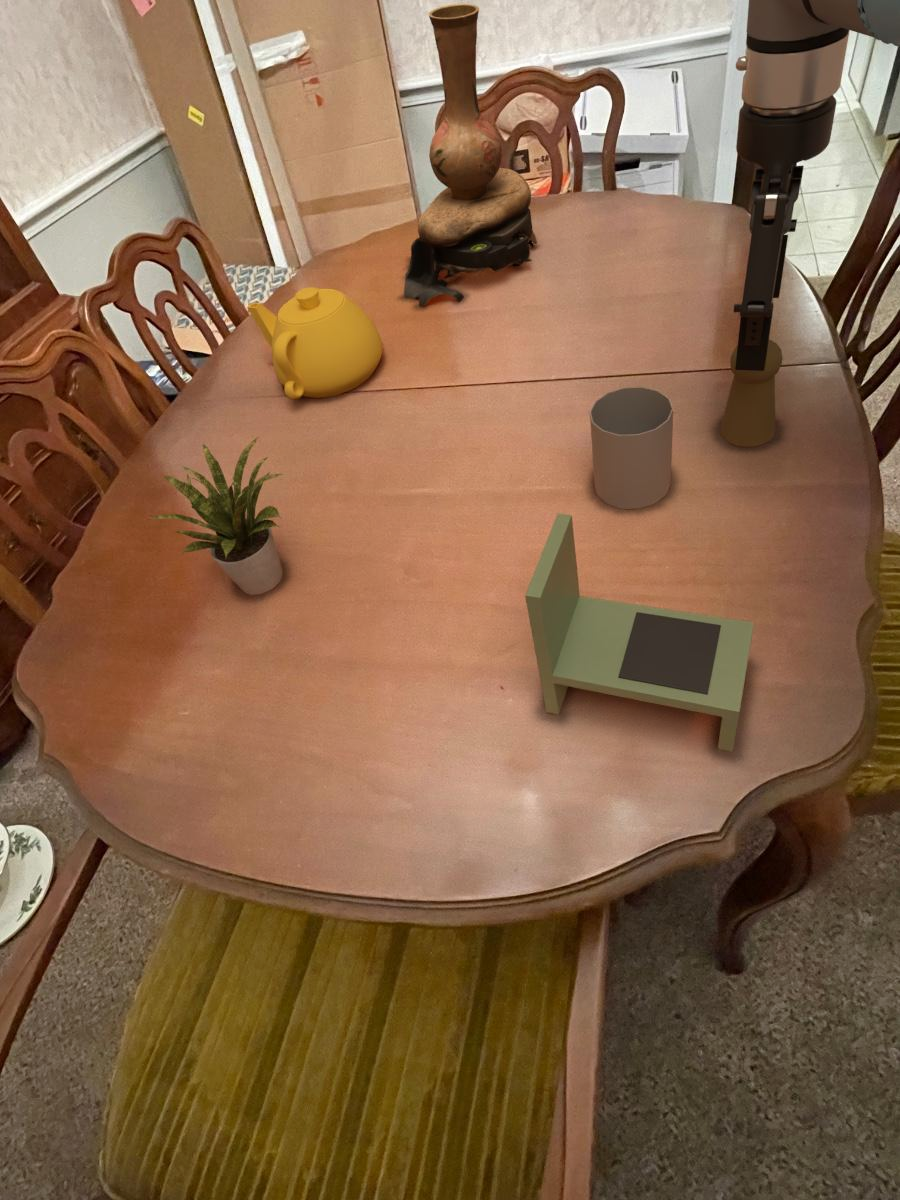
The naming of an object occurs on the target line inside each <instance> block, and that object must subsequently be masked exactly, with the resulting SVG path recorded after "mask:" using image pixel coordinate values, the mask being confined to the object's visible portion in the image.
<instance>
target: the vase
mask: <svg viewBox="0 0 900 1200" xmlns="http://www.w3.org/2000/svg"><path fill="white" fill-rule="evenodd" d="M479 12H480V7H479V6H477V5H476V4H471V3H456V4H455V3H454V4H448V5H444V6H443V5H442V6H439V7H436V8H434V9H432V10H431V11H429V13H428V17H429V20H430V24H431V25H432V29H433V34H434V40H435V45H436V46H435V47H436V50H437V53H438V61H439V66H440V72H441V79H442V87H443V94H444V116H443V119H442V122H441V123H440V125H439V127H438V128H437V130H436V132H435V133H434V134H433V136H432V139H431V142H430V146H429V153H428V154H429V155H428V157H429V163H430V166H431V169H432V172H433V174H434V176H435V177H436V179H437V180H438V182H440V183H441V184H442V185H444V186H445V187H446V188H445V189H443V190H442V191H441V192H440V193H439V194H438V195H437V196H436V197H435V198H434V199H433V200H432V201H431V202H430V204H429V205H428V206H427V207H426V209H425V210H424V211H423V212H422V214H421V216H420V217H419V220H418V223H417V235H418V237H417V238H416V239H415V240H413V242H411V245H410V261H409V265H408V268H407V271H406V272H405V276H404V278H405V279H404V287H403V293H404V294H403V297H404V298H405V299H414V300H416V298H418V307H419V308H420V307H422V308H423V307H424V306H425V305H426V304H427V302H428V301H430V300H432V299H433V298H436V297H438V296H440V295H448V296H449V295H450V296H451V297H454V298H455V299H456V301H457V302H458V303H460V302H461V301H462V300H464V298H465V296H464V294H463V293H462V292H460V291H458V290H456V289H452V288H449V287H448V286H450V285H451V284H452V283H454V281H452V282H451V283H448V282H447V281H446V280H445V279H450V278H456V276H457V275H458V274H460V273H467V274H468V273H470V274H477V273H482V272H485V271H486V270H488V269H490V270H491V271H492V272H496V273H497V272H498V271H501V270H502V269H505V268H506V267H508V266H509V265H511V266H512V267H513V268H515V267H521V266H522V265H523V264H524V263H530V262H532V261H533V259H532V258H531V257H530V254H531V253H530V247H532V248H533V247H535V245H537V244H538V239H537V237H536V234H535V233H534V231H533V221H532V214H531V209H530V206H531V203H532V190H531V188H530V185H529V184H528V182H527V180H526V179H525V177H523V176H522V175H521V174H520V173H519V172H517V171H515V170H513V169H510V168H505V167H501V164H502V156H503V149H502V148H503V147H502V143H501V139H500V137H499V134H498V133H497V131H496V129H494V127H493V126H492V125H491V124H490V123H489V121H487V120H486V119H485V117H484V116H483V115H482V113H481V110H480V107H479V101H478V92H477V38H478V19H479ZM444 270H446V271H447V272H446V273H447V274H446V275H445V276H444V279H439V277H440V273H441V272H442V271H444ZM458 279H459V277H457V278H456V279H455V281H457V280H458Z"/></svg>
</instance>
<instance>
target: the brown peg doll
mask: <svg viewBox="0 0 900 1200" xmlns="http://www.w3.org/2000/svg"><path fill="white" fill-rule="evenodd" d="M737 347H738V345H737V346H736V347H735V348H734V349H733V351H732V353H731V356H730V361H729V362H730V363H729V364H730V369H731V372H732V374H733V377H732V382H731V386H730V389H729V393H728V397H727V401H726V405H725V409H724V413H723V417H722V421H721V424H720V428H719V432H720V433H719V434H720V436H721V438H722V439H723V440H724V441H726V442H727V443H729V444H731V445H733V446H736V447H743V448H751V447H752V448H753V447H758V446H762V445H764V444H767V443H768V442H770V441H771V440H772V439H773V438H774V437H775V434H776V431H777V430H776V380H775V379H776V375H777V374H778V373H779V371H780V369H781V367H782V364H783V351H782V348H781V347H780V345H779V344H778V343H777V342H776V341H774V340H771V339H769V342H768V349H767V356H766V363H765V369H764V371H751V370H735V366H736V357H737Z"/></svg>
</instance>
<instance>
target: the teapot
mask: <svg viewBox="0 0 900 1200" xmlns="http://www.w3.org/2000/svg"><path fill="white" fill-rule="evenodd" d="M246 308H247V310H248V312H249V314H250V315H251V317H252V319H253V321H254V322H255V324H257V327H258V329H259V330H260V332H261V333H262V335H263V336H264V337H263V338H264V339H265V340H266V342H267V343H268V345H269V346H270V349H271V358H272V366H273V369H274V373H275V375H276V378H277V380H278V381H279V382H280V383H281V385H282V386H283V387H284V394H285V396H286V397H287V398H289V399H290V400H297V399H299V398H301V397H302V396H304V397H307V398H318V399H319V398H329V397H334V396H338V395H341V394H344V393H347V392H349V391H352V390H353V389H356V388H357V387H359V386H360V385H361V384H363V383H365V382H366V381H367V380H368V379H369V378H370V377H371V376H372V374H373V373H374V372H375V370H376V368H377V367H378V365H379V363H380V361H381V358H382V356H383V351H384V344H383V340H382V337H381V335H380V332H379V330H378V329H377V327H376V324H375V323H374V322H373V320H372V318H370V317H369V315H368V314H367V313H366V312H365V311H364V310H363V309H362V308H361V307H360V306H359V305H358V304H357V303H356V302H355V301H354V300H352V299H351V298H350V297H349V296H347V295H346V294H344V293H343V292H341V291H340V290H337V289H334V288H318V287H316V286H308V287H304V288H301V289H299V290H298V291H297V292H296V293H295V295H294V296H293V297H292V298H290V299H288V301H286V302H285V303H284V304H283V305H282V306H281V308H280V309H279V310H278V313H277V316H276V314H274V313H273V312H272V311H270V310H269V309H268V308H267V307H265V306H264V305H263V303H262V302H254V301H253V302H251V303H250V304H249V305H248V306H247V307H246Z"/></svg>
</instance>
